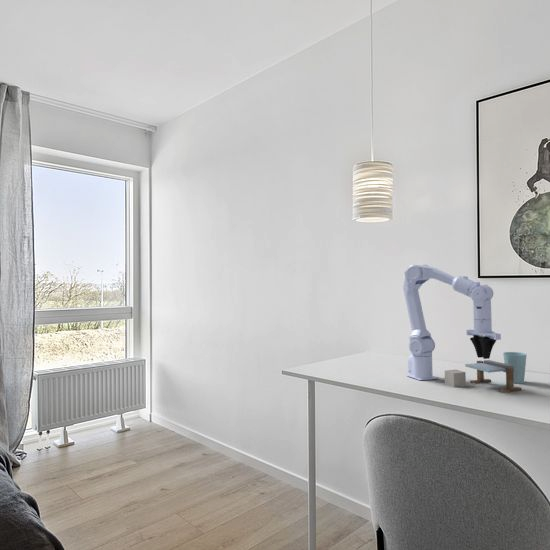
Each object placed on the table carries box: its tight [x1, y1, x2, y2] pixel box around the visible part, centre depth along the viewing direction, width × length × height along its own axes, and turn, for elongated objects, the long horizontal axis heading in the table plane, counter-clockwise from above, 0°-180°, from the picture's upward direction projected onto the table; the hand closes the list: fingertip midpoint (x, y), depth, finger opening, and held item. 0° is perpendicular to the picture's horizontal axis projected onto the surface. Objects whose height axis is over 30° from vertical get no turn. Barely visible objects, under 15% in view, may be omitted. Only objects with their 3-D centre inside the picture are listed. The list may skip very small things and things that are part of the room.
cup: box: [502, 351, 527, 384], centre depth 167 cm, size 8×8×10 cm
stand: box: [469, 360, 523, 393], centre depth 161 cm, size 16×8×8 cm, turn 16°
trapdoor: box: [464, 359, 514, 373], centre depth 161 cm, size 12×10×2 cm
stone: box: [444, 369, 467, 388], centre depth 165 cm, size 5×5×5 cm
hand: (483, 357), depth 160 cm, fingers open, 2 cm apart
